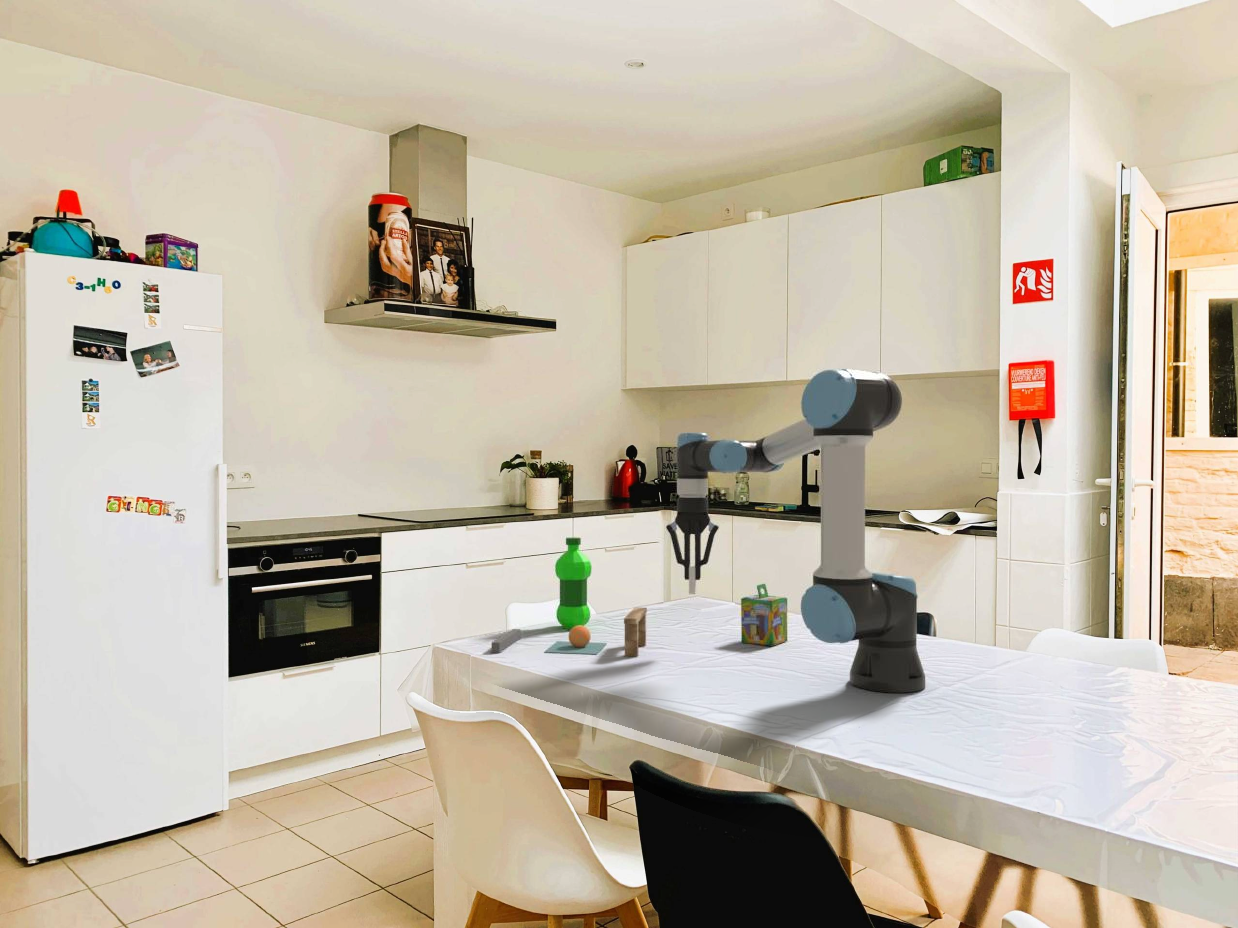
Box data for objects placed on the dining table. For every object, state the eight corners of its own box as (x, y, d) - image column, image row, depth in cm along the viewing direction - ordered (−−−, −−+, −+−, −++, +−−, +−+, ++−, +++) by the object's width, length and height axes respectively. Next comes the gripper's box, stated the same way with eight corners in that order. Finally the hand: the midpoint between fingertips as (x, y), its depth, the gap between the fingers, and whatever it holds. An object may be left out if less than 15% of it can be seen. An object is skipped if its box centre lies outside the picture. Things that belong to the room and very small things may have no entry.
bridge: (646, 643, 230) (646, 607, 230) (636, 657, 214) (636, 618, 214) (635, 643, 231) (635, 607, 231) (623, 657, 215) (623, 618, 215)
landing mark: (596, 654, 218) (596, 653, 218) (544, 652, 220) (544, 651, 220) (606, 643, 230) (606, 642, 230) (557, 641, 233) (557, 641, 233)
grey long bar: (499, 653, 219) (499, 642, 219) (491, 652, 220) (491, 642, 220) (520, 638, 237) (520, 629, 237) (513, 638, 237) (513, 628, 237)
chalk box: (772, 647, 226) (772, 588, 226) (739, 642, 232) (739, 585, 232) (789, 641, 234) (789, 584, 234) (757, 637, 239) (757, 581, 239)
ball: (568, 651, 224) (590, 647, 223) (563, 630, 224) (585, 625, 223) (574, 646, 229) (594, 642, 228) (569, 625, 229) (590, 621, 228)
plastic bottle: (598, 626, 255) (598, 537, 255) (577, 632, 246) (577, 540, 246) (569, 622, 260) (569, 535, 260) (547, 628, 251) (547, 538, 251)
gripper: (720, 495, 222) (720, 591, 222) (667, 495, 225) (667, 590, 225) (718, 497, 215) (718, 596, 215) (663, 496, 217) (663, 594, 217)
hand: (692, 593), depth 220 cm, fingers closed
